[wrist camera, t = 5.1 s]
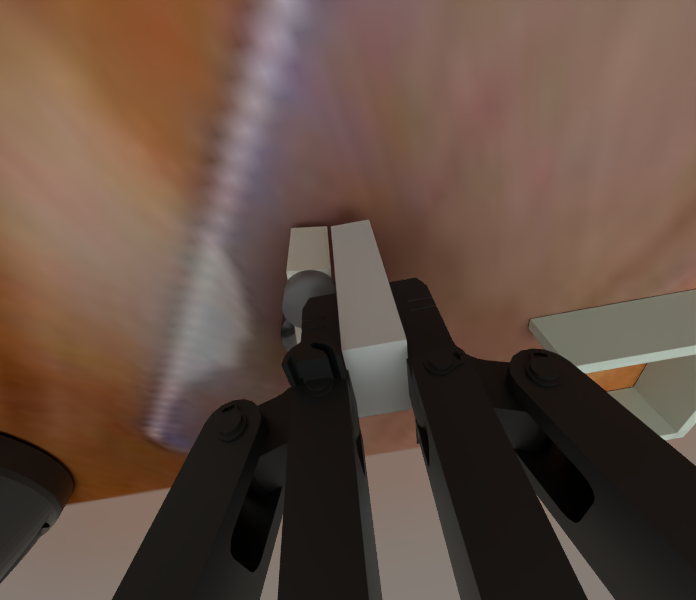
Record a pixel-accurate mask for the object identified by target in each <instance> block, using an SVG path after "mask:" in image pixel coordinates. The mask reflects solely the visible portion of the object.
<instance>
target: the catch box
mask: <svg viewBox="0 0 696 600" xmlns="http://www.w3.org/2000/svg"><path fill="white" fill-rule="evenodd" d="M528 329H529V330H530V331H531V332H532V334H533V335H534V336H535V338H536V339H537V340H538V341H539V343H540V344H541V345H542V347H543V348H544V349H545V350H548V351H551V352H554V353H557V354H559V355H561V356H562V357H564V358H566V359H567V360H569V361H570V362H571V363H573V364H574V365H575V366H576V367H577V368H579V369H580V370H581V371H582V372H583V373H591V372H596V371H602V370H608V369H614V368H619V367H625V366H631V365H637V364H642V363H647V365H646V367H645V368H644V370H643V372H642V373H641V375H640V377H639V378H638V380H637V382H636V384H635V385H634V387H631V388H625V389H620V390H614V391H608V392H607V393H609V394H610V395H611V396H612V397H613V398H615V399H616V400H617V401H618V402H619V403H621V404H622V405H623V406H624V407H625V408H627V409H628V410H629V411H630V412H631V413H633V414H634V415H635V416H636V417H637V418H639V419H640V420H641V421H642V422H643V423H645V424H646V425H647V426H648V427H649V428H651V429H652V430H653V431H654V432H655V433H657V434H658V435H659V436H660V437H661V438H663V439H664V440H668V439H674V438H680V437H683V436H684V435H685V434H686V433H687V432H688V431H689V430H690V428H691V427H692V426H693V425H694V424H695V423H696V289H695V290H689V291H683V292H678V293H672V294H667V295H661V296H656V297H650V298H644V299H639V300H633V301H628V302H622V303H617V304H611V305H605V306H600V307H594V308H589V309H583V310H577V311H572V312H566V313H561V314H555V315H550V316H544V317H538V318H533V319H530V323H529V327H528Z"/></svg>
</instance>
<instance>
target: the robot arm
mask: <svg viewBox="0 0 696 600" xmlns="http://www.w3.org/2000/svg"><path fill="white" fill-rule="evenodd" d="M331 234H332V245H333V257H334V268H335V280H336V291H337V293H334V294H328V295H323V296H317V297H312V298H309V299H308V301H307V302H306V304H305V306H304V307H303V309H302V326H301V331H302V333H301V342H300V343H299V344H297V345H295V346H294V347H292V348H291V349H290V350H289V352H288V353H287V354H286V355H285V357H284V359H283V362H282V367H283V369H284V372H285V374H286V376H287V379H288V381H289V383H290V386H291V387H290V388H289V389H288V390H286V391H285V392H284V393H283V394H281V395H279V396H277V397H276V398H274V399H271V400H269V401H267V402H265V403H263V404H261V405H259V406H257V405H256V404H255V403H253V402H252V401H248V400H244V399H242V400H234V401H231V402H229V403H227V404H225V405H222V406H221V407H220V408H219V409H217V410H216V411H215V412H214V413H212V415H211V416H210V417H209V419H208V420H207V422H206V423H205V425H204V426H203V428H202V430H201V432H200V434H199V436H198V438H197V440H196V442H195V443H194V445H193V447H192V449H191V451H190V453H189V455H188V457H187V459H186V460H185V462H184V464H183V466H182V468H181V470H180V472H179V474H178V476H177V477H176V479H175V481H174V483H173V485H172V487H171V489H170V491H169V493H168V494H167V497H166V498H165V500H164V502H163V504H162V506H161V508H160V510H159V512H158V513H157V515H156V517H155V519H154V521H153V523H152V525H151V527H150V529H149V530H148V532H147V534H146V536H145V538H144V540H143V542H142V544H141V546H140V548H139V549H138V551H137V553H136V555H135V557H134V559H133V561H132V563H131V564H130V567H129V568H128V570H127V572H126V574H125V576H124V578H123V580H122V581H121V583H120V585H119V587H118V589H117V591H116V593H115V595H114V597H113V599H112V600H260V597H261V593H262V589H263V585H264V581H265V578H266V574H267V571H268V567H269V563H270V559H271V556H272V552H273V549H274V545H275V541H276V537H277V534H278V530H279V527H280V523H281V519H282V515H283V526H282V543H281V556H280V571H279V586H278V600H382V593H381V585H380V577H379V569H378V560H377V552H376V544H375V537H374V528H373V520H372V512H371V504H370V496H369V487H368V480H367V471H366V463H365V455H364V447H363V439H362V434H361V430H360V426H359V418H361V417H367V416H373V415H379V414H385V413H391V412H397V411H403V410H409V409H412V407H413V411H414V415H415V421H416V436H417V444H419V443H420V446H421V450H422V454H423V457H424V461H425V465H426V469H427V473H428V476H429V480H430V484H431V488H432V492H433V496H434V499H435V503H436V507H437V511H438V514H439V518H440V522H441V526H442V530H443V534H444V538H445V541H446V545H447V549H448V553H449V557H450V560H451V564H452V568H453V572H454V576H455V580H456V583H457V587H458V591H459V595H460V599H461V600H588V599H587V597H586V595H585V593H584V591H583V589H582V587H581V585H580V583H579V581H578V579H577V577H576V574H575V573H574V571H573V568H572V566H571V564H570V562H569V560H568V558H567V556H566V554H565V552H564V550H563V548H562V546H561V544H560V542H559V540H558V538H557V536H556V534H555V532H554V530H553V528H552V526H551V524H550V522H549V520H548V518H547V515H546V514H545V511H544V509H543V507H542V505H541V503H540V501H539V499H538V497H539V498H540V500H541V501H542V502H543V503H544V505H545V506H546V508H547V509H548V510H549V512H550V513H551V514H552V516H553V517H554V518H555V519H556V521H557V522H558V524H559V525H560V526H561V528H562V529H563V530H564V532H565V533H566V534H567V536H568V537H569V538H570V540H571V541H572V542H573V544H574V545H575V546H576V548H577V549H578V550H579V552H580V553H581V554H582V556H583V557H584V558H585V560H586V561H587V562H588V564H589V565H590V566H591V568H592V569H593V570H594V572H595V573H596V574H597V576H598V577H599V579H600V580H601V581H602V582H603V584H604V585H605V587H606V588H607V589H608V591H609V592H610V593H611V594H612V596H613V597H614V599H615V600H696V466H695V465H694V464H693V463H691V462H690V461H689V460H688V459H687V458H685V457H684V456H683V455H682V454H681V453H679V452H678V451H677V450H676V449H675V448H673V447H672V446H671V445H670V444H669V443H667V442H666V441H665V440H664V439H663V438H661V437H660V436H659V435H658V434H657V433H655V432H654V431H653V430H652V429H651V428H649V427H648V426H647V425H646V424H645V423H643V422H642V421H641V420H640V419H639V418H637V417H636V416H635V415H634V414H633V413H631V412H630V411H629V410H628V409H627V408H625V407H624V406H623V405H622V404H621V403H619V402H618V401H617V400H616V399H615V398H613V397H612V396H611V395H610V394H609V393H607V392H606V391H605V390H604V389H603V388H601V387H600V386H599V385H598V384H597V383H595V382H594V381H593V380H592V379H591V378H589V377H588V376H587V375H586V374H585V373H583V372H582V371H581V370H580V369H579V368H577V367H576V366H575V365H574V364H573V363H571V362H570V361H569V360H567V359H566V358H564V357H562V356H561V355H559V354H557V353H554V352H551V351H548V350H544V349H528V350H523V351H520V352H519V353H517V354H516V355H514V356H513V357H512V359H511V361H510V363H509V362H498V361H487V360H482V359H477V358H474V357H471V356H469V355H467V354H466V353H465V352H464V351H463V350H462V349H460V348H459V347H457V346H456V345H455V344H454V342H453V340H452V338H451V336H450V334H449V332H448V330H447V328H446V326H445V323H444V321H443V319H442V317H441V315H440V313H439V311H438V308H436V304H435V302H434V300H433V299H432V296H431V293H430V291H429V289H428V287H427V285H425V284H424V283H423V282H421V281H420V280H419V279H417V278H411V279H406V280H400V281H395V282H388V279H387V276H386V272H385V269H384V266H383V263H382V260H381V256H380V253H379V250H378V247H377V244H376V240H375V237H374V234H373V231H372V228H371V224H370V221H369V219H368V220H363V221H358V222H352V223H347V224H342V225H336V226H331ZM411 404H412V405H411ZM72 492H73V481H72V478H71V476H70V475H69V473H68V472H67V471H66V470H65V469H64V468H63V467H62V466H61V465H60V464H59V463H58V462H56V461H55V460H54V459H52V458H51V457H49V456H48V455H46V454H44V453H42V452H41V451H39V450H37V449H35V448H33V447H31V446H28V445H26V444H24V443H21V442H19V441H16V440H14V439H11V438H8V437H5V436H2V435H0V583H1V582H2V581H3V580H4V579H5V578H6V577H7V576H8V574H9V573H10V572H11V571H12V570H13V569H14V568H15V567H16V565H17V564H18V563H19V562H20V561H21V560H22V558H23V557H24V556H25V555H26V554H27V553H28V551H29V550H30V549H31V548H32V547H33V545H34V544H35V543H36V542H37V540H38V539H39V538H40V537H41V536H42V535H43V534H45V533H46V532H47V531H48V530H49V529H50V528H51V527H52V525H54V523H55V522H56V521H57V519H58V518H59V516H60V514H61V512H62V510H63V508H64V507H65V505H66V503H67V501H68V499H69V497H70V496H71V494H72ZM536 494H537V495H536ZM537 496H538V497H537Z"/></svg>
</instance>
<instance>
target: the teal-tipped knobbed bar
mask: <svg viewBox="0 0 696 600" xmlns="http://www.w3.org/2000/svg"><path fill="white" fill-rule="evenodd" d="M286 273H287V279H288V281H287V282H286V284H285V287H284V295H283V304H282V311H283V314H284V316H285V318H286V319H287V320H288V321H289V322H290V323H291V324H292V325H294V326H295V334H294V336H293V347H294V346H295V345H297V344H299V343H300V342H301V333H302V331H301V326H302V309H303V307H304V306H305V304H306V302H307V301H308V299H309V298H312V297H317V296H323V295H328V294H334V293H337V291H336V284H335V282H334V280H333V279H332V278H331V266H330V254H329V243H328V231H327V226H322V227H302V228H291V234H290V243H289V252H288V260H287V269H286ZM290 387H291V386H290Z"/></svg>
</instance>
